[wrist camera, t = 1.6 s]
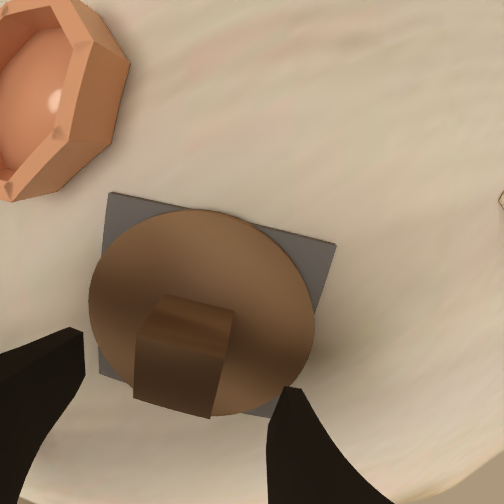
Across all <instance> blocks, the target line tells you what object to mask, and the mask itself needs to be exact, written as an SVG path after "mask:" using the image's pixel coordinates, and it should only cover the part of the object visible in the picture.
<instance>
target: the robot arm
mask: <svg viewBox="0 0 504 504" xmlns="http://www.w3.org/2000/svg"><path fill="white" fill-rule="evenodd" d="M85 375H86V374H85V359H84V340H83V332H81V331H79V330H76V329H74V328H71V327H68V328H65V329H62V330H60V331H57V332H55V333H52V334H50V335H48V336H45V337H43V338H41V339H38V340H36V341H33V342H31V343H29V344H26V345H24V346H21V347H18V348H15V349H13V350H10V351H7V352H4V353H1V354H0V504H17V501H18V498H19V495H20V492H21V489H22V486H23V484H24V481H25V478H26V476H27V474H28V471H29V469H30V467H31V464H32V462H33V460H34V458H35V456H36V454H37V452H38V450H39V448H40V446H41V444H42V442H43V441H44V439H45V437H46V436H47V434H48V433H49V431H50V430H51V429H52V427H53V426H54V424H55V423H56V422H57V420H58V419H59V417H60V416H61V415H62V413H63V412H64V410H65V409H66V408H67V406H68V405H69V403H70V402H71V401H72V399H73V398H74V396H75V394H76V393H77V391H78V389H79V387H80V385H81V383H82V381H83V379H84V377H85ZM266 463H267V485H268V504H394V503H393V502H391V501H390V500H389V499H387V498H386V497H385V496H383V495H382V494H381V493H380V492H379V491H377V490H376V489H375V488H374V487H373V486H372V485H371V484H370V483H368V482H367V481H366V480H365V479H364V478H363V477H362V476H361V475H360V474H359V473H358V472H357V470H356V469H355V468H354V467H353V466H352V465H351V464H350V463H349V462H348V461H347V459H346V458H345V457H344V456H343V454H342V453H341V452H340V450H339V449H338V448H337V446H336V445H335V444H334V442H333V441H332V439H331V438H330V436H329V435H328V433H327V432H326V430H325V429H324V427H323V425H322V424H321V422H320V421H319V419H318V417H317V416H316V414H315V412H314V410H313V409H312V407H311V405H310V403H309V401H308V400H307V398H306V396H305V394H304V392H303V391H302V389H299V388H293V387H287V386H284V387H283V390H282V392H281V395H280V397H279V400H278V402H277V405H276V407H275V410H274V412H273V415H272V417H271V420H270V422H269V424H268V432H267V443H266Z"/></svg>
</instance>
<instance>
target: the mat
mask: <svg viewBox="0 0 504 504" xmlns="http://www.w3.org/2000/svg"><path fill="white" fill-rule="evenodd" d="M186 209H188V208H184V207H180V206H175V205H171V204H166V203H161V202H157V201H152V200H148V199H143V198H138V197H134V196H129V195H124V194H120V193H115V192H111V193H108V200H107V208H106V216H105V224H104V234H103V244H102V255H103V253H104V252H105V251H106V249H107V248H108V247H109V246H110V245H111V244H112V242H113V241H114V240H116V239H117V238H118V237H119V236H120V235H121V234H122V233H124V232H125V231H127V230H128V229H130V228H131V227H133V226H135V225H136V224H138V223H140V222H142V221H144V220H146V219H149V218H151V217H153V216H156V215H159V214H163V213H167V212H170V211H178V210H186ZM191 210H193V209H191ZM247 223H249V222H247ZM249 224H251V225H253V226H254V227H256V228H258V229H259V230H261V231H262V232H264V233H266V234H267V235H268V236H269V237H270V238H272V239H273V240H274V241H275V242H276V243H278V244H279V245H280V246H281V248H282V249H283V250H284V251H285V252H286V253H287V254H288V255H289V256H290V258H291V259H292V261H293V262H294V264H295V265H296V266H297V268H298V270H299V272H300V274H301V276H302V278H303V280H304V282H305V284H306V287H307V290H308V293H309V296H310V300H311V303H312V308H313V314H315V311H316V308H317V305H318V302H319V299H320V296H321V293H322V290H323V287H324V284H325V281H326V278H327V275H328V272H329V269H330V266H331V262H332V259H333V256H334V253H335V249H336V245H335V244H334V243H330V242H326V241H322V240H318V239H314V238H310V237H306V236H302V235H298V234H294V233H290V232H286V231H282V230H278V229H274V228H270V227H266V226H261V225H257V224H253V223H249ZM102 255H101V257H102ZM98 346H99V345H98ZM99 374H102V375H105V376H108V377H110V378H113V379H116V380H119V381H122V382H125V381H124V380H123V379H122V378H121V377H120V376H119V375H118V374H117V373H116V372H115V370H114V369H113V368H112V367H111V365H110V364H109V363H108V361H107V360H106V358H105V356H104V355H103V353H102V351H101V350H100V348H99ZM125 383H126V382H125ZM280 395H281V394H280ZM280 395H279V396H277V397H276V398H274V399H272V400H271V401H269V402H268V403H266V404H264V405H262V406H259V407H257V408H255V409H252V410H249V411H246V412H242V413H244V414H249V415H255V416H261V417H267V418H271V417H272V415H273V412H274V410H275V407H276V405H277V402H278V400H279V397H280Z"/></svg>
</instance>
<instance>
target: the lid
mask: <svg viewBox="0 0 504 504" xmlns="http://www.w3.org/2000/svg"><path fill="white" fill-rule="evenodd" d="M88 302H89V316H90V321H91V326H92V330H93V333H94V336H95V339H96V341H97V343H98V345H99V348H100V350H101V351H102V353H103V355H104V356H105V358H106V360H107V361H108V363H109V364H110V365H111V367H112V368H113V369H114V370H115V372H116V373H117V374H118V375H119V376H120V377H121V378H122V379H123V380H124V381H125V382H126V383H127V384H129V385H130V386H131V387H132V388H133V398H135V399H138V400H141V401H145V402H148V403H151V404H154V405H158V406H161V407H165V408H168V409H172V410H175V411H179V412H183V413H187V414H191V415H195V416H199V417H203V418H207V419H210V417H211V416H224V415H233V414H237V413H242V412H246V411H249V410H252V409H255V408H257V407H259V406H262V405H264V404H266V403H268V402H269V401H271V400H272V399H274V398H276V397H277V396H279V395H280V394H281V392H282V390H283V387H284V386H287V387H289V386H290V385H291V384H292V383H293V381H294V380H295V379H296V378H297V376H298V375H299V374H300V372H301V371H302V369H303V367H304V365H305V363H306V361H307V359H308V357H309V354H310V350H311V347H312V343H313V336H314V314H313V308H312V303H311V300H310V296H309V293H308V290H307V287H306V284H305V282H304V280H303V278H302V276H301V274H300V272H299V270H298V268H297V266H296V265H295V264H294V262H293V261H292V259H291V258H290V256H289V255H288V254H287V253H286V252H285V251H284V250H283V249H282V248H281V246H280V245H279V244H278V243H276V242H275V241H274V240H273V239H272V238H270V237H269V236H268V235H267V234H266V233H264V232H262V231H261V230H259V229H258V228H256V227H254V226H253V225H251V224H249V223H247V222H245V221H243V220H240V219H238V218H236V217H233V216H230V215H226V214H223V213H220V212H214V211H207V210H191V209H186V210H178V211H170V212H167V213H163V214H159V215H156V216H153V217H151V218H149V219H146V220H144V221H142V222H140V223H138V224H136V225H135V226H133V227H131V228H130V229H128V230H127V231H125V232H124V233H122V234H121V235H120V236H119V237H118V238H117V239H116V240H114V241H113V242H112V244H111V245H110V246H109V247H108V248H107V249H106V251H105V252H104V253H103V255H102V257H101V258H100V260H99V262H98V264H97V266H96V268H95V271H94V273H93V276H92V280H91V284H90V289H89V300H88Z"/></svg>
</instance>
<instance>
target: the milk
mask: <svg viewBox="0 0 504 504" xmlns="http://www.w3.org/2000/svg"><path fill="white" fill-rule="evenodd" d="M499 202H500V204H501V205H502V207H503V208H504V193H503V194H502V196H501V198H500V200H499Z"/></svg>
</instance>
